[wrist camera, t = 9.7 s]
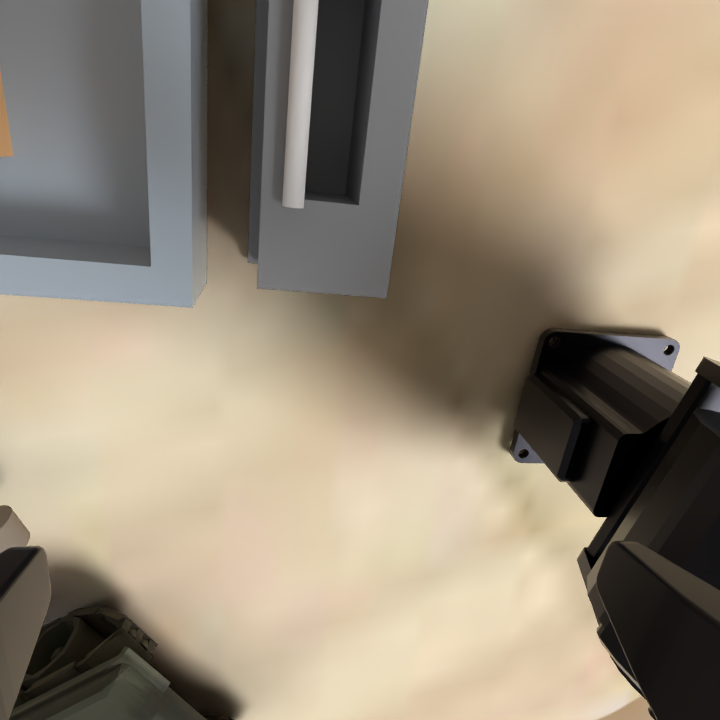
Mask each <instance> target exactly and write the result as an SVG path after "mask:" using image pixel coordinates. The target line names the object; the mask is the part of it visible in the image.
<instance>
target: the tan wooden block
mask: <svg viewBox="0 0 720 720" xmlns="http://www.w3.org/2000/svg"><path fill="white" fill-rule="evenodd" d="M8 156H13V150H12V144H11V137H10V131H9V124H8V118H7V111H6V105H5V98H4V91H3V85H2V78H1V72H0V157H8Z"/></svg>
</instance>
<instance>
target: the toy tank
mask: <svg viewBox="0 0 720 720" xmlns="http://www.w3.org/2000/svg"><path fill="white" fill-rule="evenodd" d="M157 645H158V644H157V643H155V642H154V641H153V640H152V639H151V638H150V637H149V636H148V635H147V634H146V633H144V632H143V631H142V630H141V629H140V628H139V627H138V626H137V625H136V624H135V623H133V622H132V621H131V620H130V619H129V618H128V617H127V616H125V615H123V614H121V613H119V612H117V611H114V610H112V609H110V608H108V607H105V608H104V609H100V608H98V607H94V608H85V609H76V610H74V611H72V612H70V613H69V614H68V616H66V617H64V618H62V619H60V618H59V619H57V620H55V621H53V622H51V623H49V624H47V625H45V626H43V627H42V628H41V630H40V633H39V636H38V639H37V642H36V645H35V647H34V650H33V653H32V656H31V659H30V662H29V665H28V667H27V670H26V673H25V676H24V679H23V682H22V685H21V687H20V690H19V693H18V696H17V699H16V702H15V704H14V707H13V710H12V712H11V715H10V718H9V720H226V719H224V718H223V717H221V716H202V715H201V714H200V713H198V712H197V711H196V710H195V709H194V708H193V707H191V706H190V705H189V704H188V703H187V702H186V701H184V700H183V699H182V698H181V697H180V696H179V695H178V694H176V693H175V692H174V691H173V690H172V689H171V688H169V687H168V686H169V684H170V683H171V682H169V681H168V680H167V679H166V678H165V677H164V676H162V675H161V674H160V673H159V672H158V671H156V670H155V669H154V668H153V667H152V666H150V665H149V664H148V663H147V662H148V661H149V660H150V659H151V658H152V657H153V656H151V655H150V654H149V653H148V652H147V651H146V650H148V651H149V652H151V653H152V654H153V651H154V647H156V646H157ZM228 720H233V719H232V718H230V717H229V718H228Z"/></svg>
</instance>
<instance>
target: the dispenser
mask: <svg viewBox="0 0 720 720" xmlns="http://www.w3.org/2000/svg"><path fill="white" fill-rule="evenodd" d="M427 8H428V0H256V29H255V59H254V89H253V118H252V148H251V178H250V208H249V238H248V263H258V279H257V288H259V289H272V290H285V291H298V292H311V293H323V294H336V295H349V296H362V297H375V298H387V291H388V284H389V277H390V270H391V263H392V256H393V249H394V242H395V235H396V228H397V220H398V213H399V206H400V199H401V192H402V185H403V178H404V171H405V164H406V157H407V149H408V142H409V135H410V128H411V121H412V114H413V107H414V100H415V93H416V86H417V79H418V71H419V64H420V57H421V50H422V43H423V36H424V29H425V22H426V15H427Z"/></svg>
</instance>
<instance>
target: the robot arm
mask: <svg viewBox="0 0 720 720" xmlns="http://www.w3.org/2000/svg"><path fill="white" fill-rule="evenodd" d="M553 337H556V340H555V342H554V343H553V344H551V345H549V342H550V340H551V339H552V338H553ZM667 346H668V348H667V350H665V351H664V349H665V347H667ZM679 348H680V346H679V343H678V342H677V341H676V340H674V339H672V338H670V337H667V336H653V335H639V334H625V333H611V332H597V331H583V330H569V329H555V328H552V329H548V330H546V331H544V332H543V333H542V334H541V336H540V338H539V342H538V346H537V350H536V353H535V357H534V361H533V365H532V368H531V372H530V375H529V376H528V377H527V378H526V381H525V385H524V389H523V393H522V396H521V400H520V404H519V408H518V412H517V415H516V419H515V423H514V427H515V432H514V436H513V440H512V443H511V447H510V454H511V456H512V457H513V458H514V460H515V461H517V462H520V463H544V464H545V465H546V466H547V467H548V468H549V470H550V471H551V472H552V473H553V474H554V476H555V477H556V478H557V479H558V480H559V481H560V482H567V484H568V485H569V486H570V487H571V488H572V489H573V491H574V492H575V493H576V494H577V495H578V497H579V498H580V499H581V500H582V501H583V502H584V504H585V505H586V506H587V507H588V508H589V510H590V511H591V512H592V513H593V514H594V515H595V516H596V517H607V518H606V520H605V521H604V523H603V524H602V526H601V527H600V529H599V531H598V532H597V534H596V535H595V537H594V539H593V540H592V542H591V543H590V545H589V547H588V548H587V547H585V548H584V549H583V550H582V552H581V554H580V555H579V557H578V558H577V561H578V564H579V567H580V570H581V573H582V576H583V579H584V582H585V585H586V588H587V591H588V597H589V599H590V601H591V603H592V606H593V610H594V613H595V616H596V619H597V622H598V625H599V627H598V628H597V634H598V636H599V639H600V641H601V643H602V645H603V646H604V647H605V649H606V650H607V651H608V653H609V654H610V657H611V658H612V660H613V661H614V663H615V665H616V666H617V668H618V670H619V671H620V672H621V674H622V675H623V676H624V677H625V678H626V679H627V681H628V682H629V683H630V684H631V685H632V687H634V688H635V689H636V690H637V691H638V692H639V693H640V694H641V695H642V696H643V697H644V698H645V699H646V700H647V702H648V704H649V706H650V707H649V708H648V711H649V713H650V715H651V716H652V717H653V719H654V720H720V362H718V361H715V360H712V359H709V358H706V357H704V358H703V359H702V361H701V362H700V364H699V366H698V367H697V369H696V370H695V372H697V373H698V374H697V375H696V377H695V379H694V380H693V382H692V383H690V382H688V381H687V380H685V379H683V378H681V377H680V376H678V375H676V374H674V373H673V372H671V371H672V368H673V365H674V363H675V360H676V357H677V355H678V352H679ZM522 449H525V450H524V452H522V453H520V454H519V452H520V451H521V450H522ZM50 599H51V583H50V576H49V570H48V563H47V556H46V552H45V550H44V548H42V547H40V546H14V547H10V548H8V549H6V550H4V551H3V552H1V553H0V720H9V718H10V715H11V712H12V710H13V707H14V704H15V702H16V699H17V696H18V693H19V690H20V687H21V685H22V682H23V679H24V676H25V673H26V670H27V667H28V665H29V662H30V659H31V656H32V653H33V650H34V647H35V645H36V642H37V639H38V636H39V633H40V630H41V627H42V625H43V622H44V619H45V616H46V613H47V610H48V607H49V604H50Z"/></svg>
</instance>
